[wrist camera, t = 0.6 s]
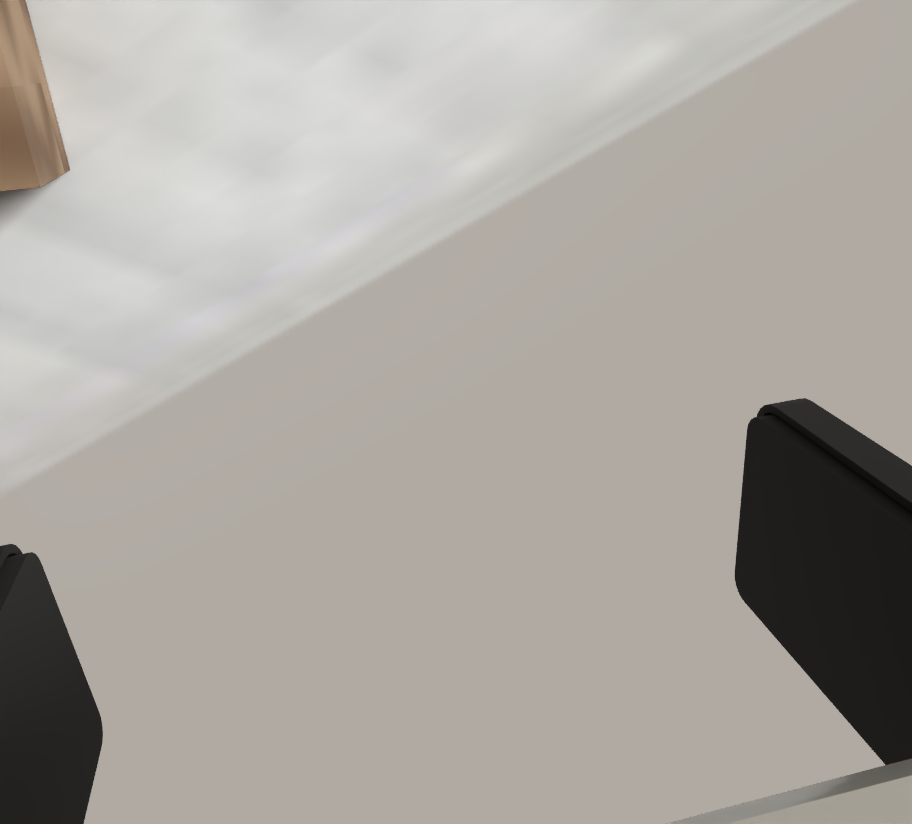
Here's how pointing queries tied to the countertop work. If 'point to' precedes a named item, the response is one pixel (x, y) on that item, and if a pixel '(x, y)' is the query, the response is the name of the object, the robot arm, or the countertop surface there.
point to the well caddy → (25, 107)
